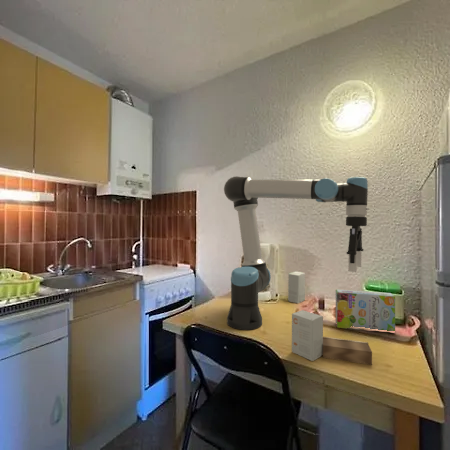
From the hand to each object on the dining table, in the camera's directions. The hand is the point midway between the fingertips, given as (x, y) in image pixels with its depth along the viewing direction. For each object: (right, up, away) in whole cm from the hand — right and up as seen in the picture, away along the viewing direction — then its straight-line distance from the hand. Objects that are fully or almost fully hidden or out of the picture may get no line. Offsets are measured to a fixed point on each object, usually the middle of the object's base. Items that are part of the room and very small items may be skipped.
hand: (355, 269), depth 106 cm
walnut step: (-13, -25, -20) cm, 35 cm away
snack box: (+5, -25, +2) cm, 26 cm away
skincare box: (-13, -25, +39) cm, 48 cm away
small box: (-25, -25, -19) cm, 40 cm away
